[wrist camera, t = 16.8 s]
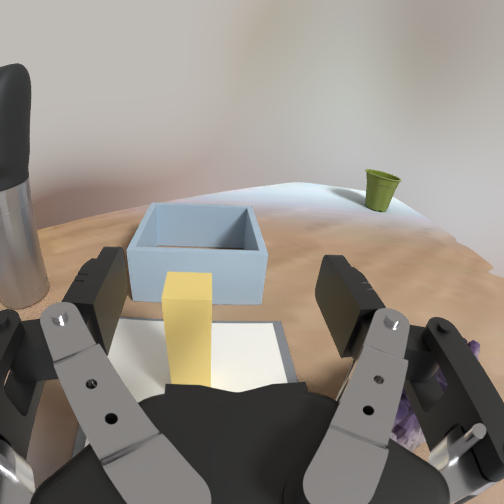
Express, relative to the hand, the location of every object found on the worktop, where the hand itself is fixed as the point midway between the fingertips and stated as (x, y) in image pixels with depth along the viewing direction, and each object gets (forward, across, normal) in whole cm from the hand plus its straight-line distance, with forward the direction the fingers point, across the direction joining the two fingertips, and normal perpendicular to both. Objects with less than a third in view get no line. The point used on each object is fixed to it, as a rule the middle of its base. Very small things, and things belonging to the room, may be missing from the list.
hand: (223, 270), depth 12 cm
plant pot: (+71, -51, +21) cm, 90 cm away
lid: (+8, +2, +20) cm, 21 cm away
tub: (+32, +2, +21) cm, 38 cm away
